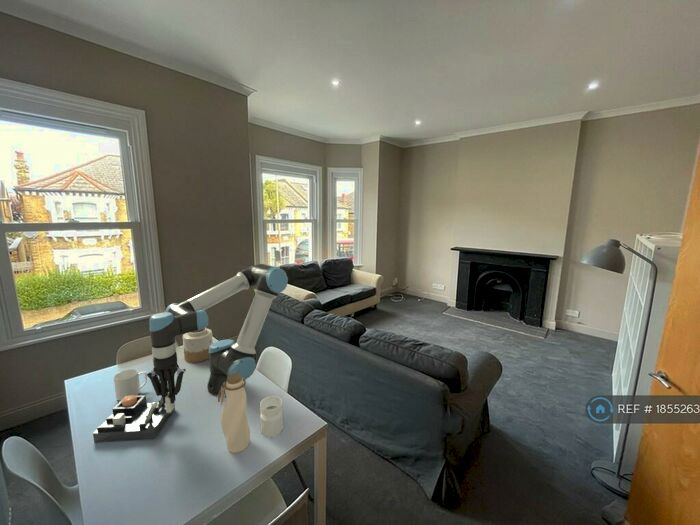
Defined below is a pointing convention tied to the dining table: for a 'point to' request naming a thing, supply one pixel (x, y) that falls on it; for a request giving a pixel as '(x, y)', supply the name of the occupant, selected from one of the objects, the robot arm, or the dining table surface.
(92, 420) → the dining table surface
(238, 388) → the water bottle
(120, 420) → the slider
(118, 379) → the mug
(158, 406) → the lever
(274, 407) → the cream cylinder
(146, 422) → the lever
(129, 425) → the panel
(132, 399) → the button
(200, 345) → the vase
